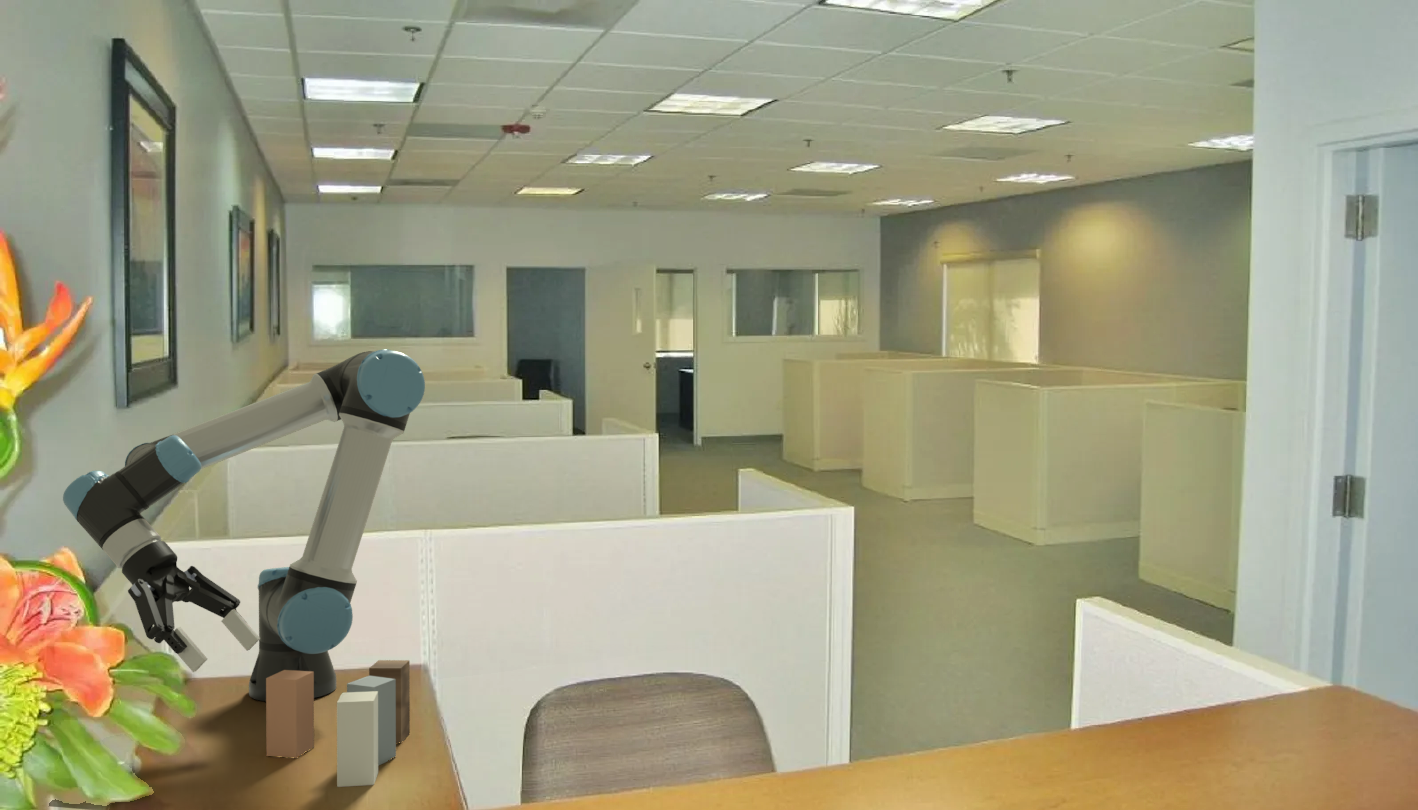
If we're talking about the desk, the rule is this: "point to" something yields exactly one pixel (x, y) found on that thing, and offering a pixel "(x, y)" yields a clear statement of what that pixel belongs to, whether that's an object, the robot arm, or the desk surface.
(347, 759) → the off-white block
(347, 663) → the desk surface
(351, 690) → the slate-grey block
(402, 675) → the walnut block
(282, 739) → the terracotta block
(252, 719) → the desk surface
